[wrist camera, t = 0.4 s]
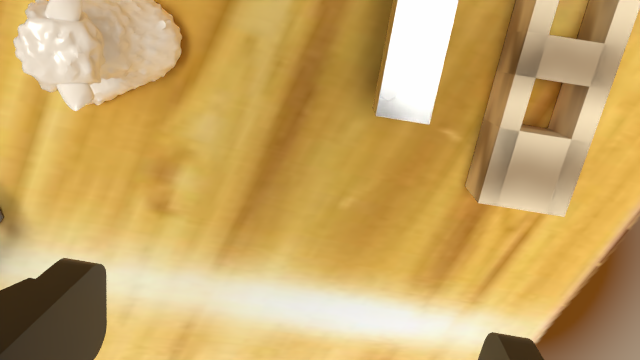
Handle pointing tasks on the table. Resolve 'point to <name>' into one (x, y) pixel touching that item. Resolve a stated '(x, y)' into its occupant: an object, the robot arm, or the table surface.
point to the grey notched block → (413, 58)
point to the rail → (569, 113)
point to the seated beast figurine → (96, 47)
